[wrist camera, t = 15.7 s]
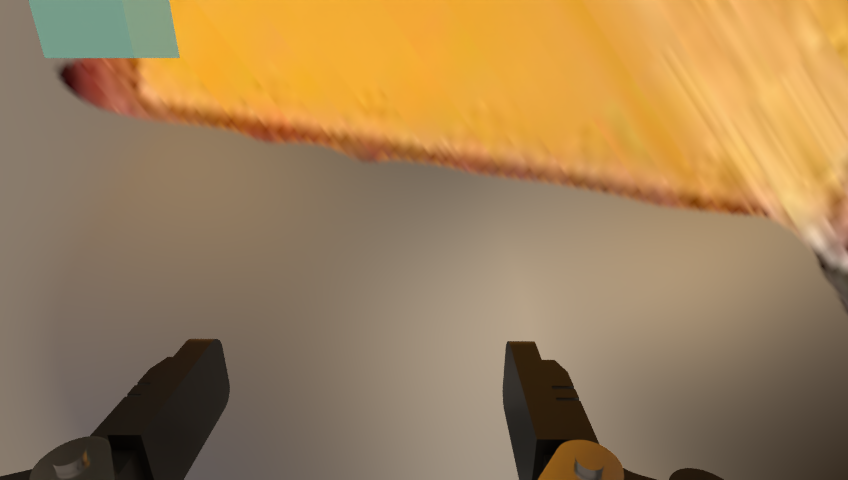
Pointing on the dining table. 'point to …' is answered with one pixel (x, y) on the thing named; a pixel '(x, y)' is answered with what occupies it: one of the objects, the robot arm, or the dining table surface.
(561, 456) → the robot arm
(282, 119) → the dining table surface
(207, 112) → the dining table surface
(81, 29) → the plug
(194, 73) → the dining table surface
